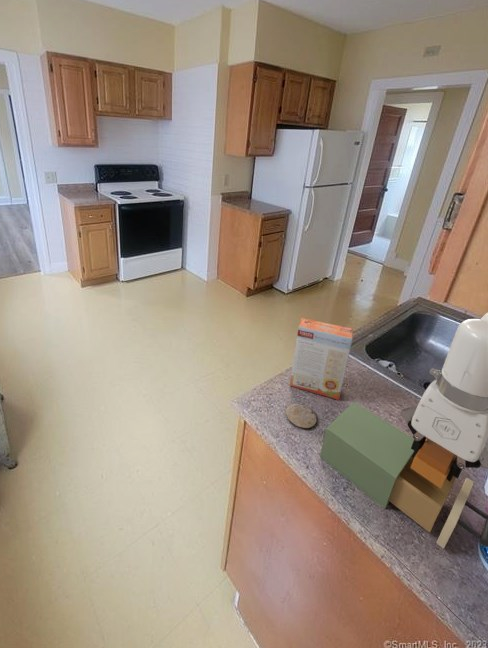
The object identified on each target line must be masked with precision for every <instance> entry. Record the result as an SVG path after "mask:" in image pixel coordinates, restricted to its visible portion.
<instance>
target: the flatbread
mask: <svg viewBox="0 0 488 648" xmlns="http://www.w3.org/2000/svg"><path fill="white" fill-rule="evenodd" d="M285 416H286V417H287V419H288V421H290V422H291V423H292V424H293V425H295V426H297V427H299V428H302V429H310V428H312V427H314V426H315V425H316V424H317V415H316V414H315V412H314V411H313V410H312V409H311V408H309V407H307V406H305V405H303V404H300V403H290V404H289V405H288V406H287V408H286V410H285Z"/></svg>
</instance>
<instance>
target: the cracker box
mask: <svg viewBox="0 0 488 648" xmlns="http://www.w3.org/2000/svg"><path fill="white" fill-rule="evenodd" d="M353 335H354V334H353V328H351V327H347V326H342V325H337V324H332V323H327V322H323V321H318V320H314V319H309V318H305V317H301V318H300V322H299V325H298V329H297V336H296V341H295V348H294V355H293V360H292V368H291V375H290V380H289V386H290V387H292V388H296V389H299V390H302V391H306V392H310V393H313V394H316V395H320V396H323V397H326V398H329V399H333V400H337V401H339V400H340V397H341V394H342V390H343V389H342V388H343V384H344V379H345V375H346V370H347V367H348V362H349V357H350V352H351V349H352V348H351V347H352V344H353V340H354V339H353V338H354V337H353Z"/></svg>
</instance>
